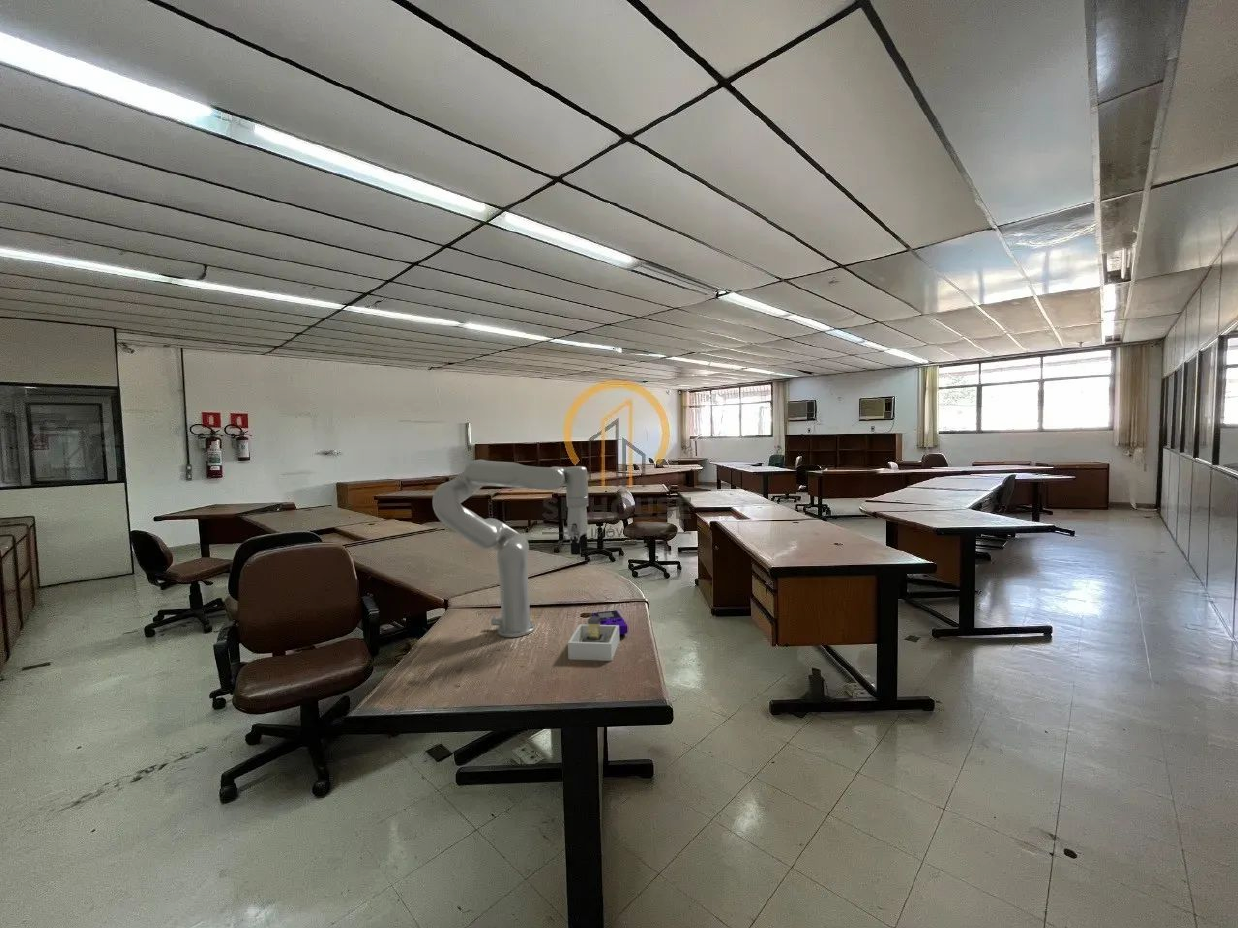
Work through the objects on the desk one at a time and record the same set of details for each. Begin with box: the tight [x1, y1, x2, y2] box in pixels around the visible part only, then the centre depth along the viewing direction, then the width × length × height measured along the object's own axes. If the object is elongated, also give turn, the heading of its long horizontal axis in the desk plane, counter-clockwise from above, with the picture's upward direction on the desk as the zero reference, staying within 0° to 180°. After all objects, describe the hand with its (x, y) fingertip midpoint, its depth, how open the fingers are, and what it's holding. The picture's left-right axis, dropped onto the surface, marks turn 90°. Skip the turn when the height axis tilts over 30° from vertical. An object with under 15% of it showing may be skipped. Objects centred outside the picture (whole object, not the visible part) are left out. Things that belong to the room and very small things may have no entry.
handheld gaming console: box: [591, 609, 628, 635], centre depth 159 cm, size 9×5×15 cm
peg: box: [587, 615, 601, 640], centre depth 144 cm, size 3×3×9 cm
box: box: [567, 623, 621, 662], centre depth 145 cm, size 13×14×5 cm
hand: (579, 551), depth 163 cm, fingers open, 9 cm apart
